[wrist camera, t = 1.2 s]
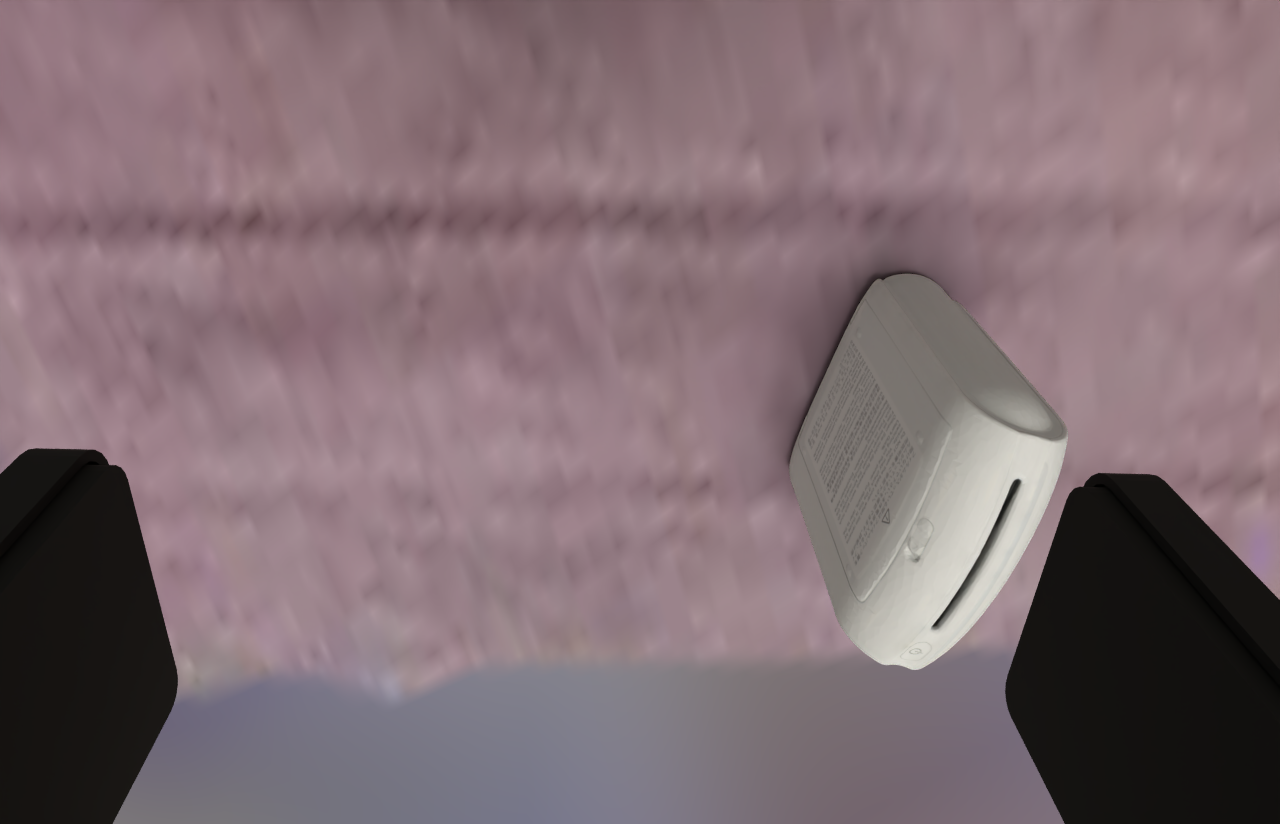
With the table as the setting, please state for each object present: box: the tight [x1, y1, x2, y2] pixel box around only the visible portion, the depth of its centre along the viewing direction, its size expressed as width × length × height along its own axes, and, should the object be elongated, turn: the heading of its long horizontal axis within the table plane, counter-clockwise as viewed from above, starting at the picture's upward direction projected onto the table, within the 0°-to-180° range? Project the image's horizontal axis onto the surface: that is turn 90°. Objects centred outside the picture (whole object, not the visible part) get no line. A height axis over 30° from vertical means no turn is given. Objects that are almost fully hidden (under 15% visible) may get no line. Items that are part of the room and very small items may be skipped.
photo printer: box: [789, 274, 1068, 670], centre depth 33 cm, size 10×4×12 cm, turn 163°
